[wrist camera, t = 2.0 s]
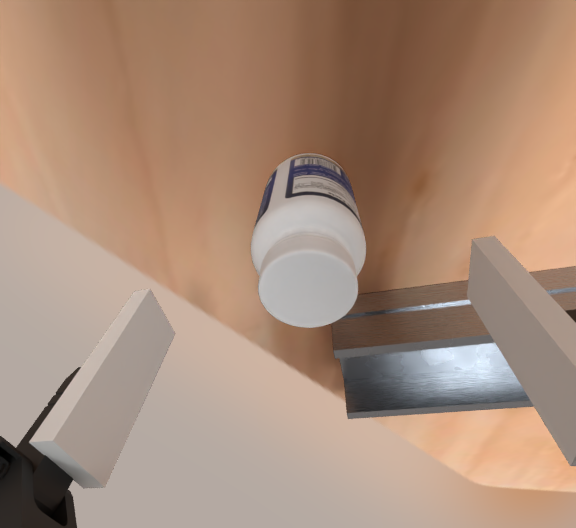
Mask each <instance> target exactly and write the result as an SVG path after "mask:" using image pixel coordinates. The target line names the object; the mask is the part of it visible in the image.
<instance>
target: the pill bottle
mask: <svg viewBox="0 0 576 528" xmlns="http://www.w3.org/2000/svg"><path fill="white" fill-rule="evenodd" d="M251 256H252V261H253V264H254V267H255V269H256V271H257V273H258V274H259V283H258V293H259V297H260V300H261V302H262V304H263V306H264V307H265V309H266V310H267V311H268V312H269V313H270V314H271V315H272V316H274V317H275V318H276V319H278V320H280V321H281V322H284V323H286V324H288V325H292V326H296V327H304V328H314V327H320V326H325V325H328V324H331V323H333V322H335V321H337V320H339V319H340V318H342V317H343V316H344V315H346V314H347V313H348V312H349V310H350V309H351V308H352V307H353V305H354V303H355V301H356V299H357V295H358V280H357V276H358V274H359V273H360V271H361V269H362V267H363V265H364V261H365V257H366V240H365V235H364V232H363V228H362V224H361V220H360V216H359V213H358V209H357V206H356V202H355V198H354V194H353V190H352V186H351V183H350V181H349V178H348V176H347V174H346V173H345V171H344V170H343V169H342V167H341V166H340V165H339V164H338V163H336V162H335V161H334V160H332V159H330V158H328V157H326V156H323V155H320V154H315V153H304V154H299V155H295V156H293V157H290V158H288V159H286V160H285V161H283V162H282V163H281V164H280V165H279V166H278V167H277V168H276V169H275V170H274V171H273V173H272V174H271V176H270V178H269V180H268V182H267V185H266V188H265V192H264V195H263V199H262V203H261V206H260V210H259V213H258V217H257V220H256V224H255V227H254V231H253V235H252V241H251Z"/></svg>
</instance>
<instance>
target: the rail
mask: <svg viewBox="0 0 576 528" xmlns="http://www.w3.org/2000/svg"><path fill="white" fill-rule="evenodd" d="M529 273H530V274H531V275H532V277H533V278H534V279H535V280H536V281H537V282H538V283H539V284H540V285H541V286H542V287H543V288H544V289H545V290H546V291H547V293H548V294H549V295H550V296H551V297H552V298H553V299H554V300H555V301H556V302H557V303H558V304H559V305H560V306H561V308H562V309H563V310H564V311H566V310H574V309H576V266H575V267H567V268H560V269H552V270H544V271H537V272H529ZM467 290H468V280H467V281H459V282H452V283H444V284H436V285H429V286H421V287H413V288H405V289H398V290H390V291H382V292H375V293H367V294H359V295H357V299H356V301H355V303H354V305H353V307H352V308H351V309H350V310H349V312H348V313H347V314H346V315H344V316H343V317H342V318H340V319H339V320H337V321H335V322H333V323H332V338H333V351H334V356H335V359H336V358H339V359H340V364H341V369H342V373H343V378H344V387H345V398H346V409H347V416H348V419H353V418H368V417H383V416H398V415H413V414H428V413H443V412H458V411H473V410H488V409H503V408H518V407H533V406H534V405H533V404H532V402H531V401H530V399H529V397H528V396H527V394H526V392H525V391H524V389H523V387H522V386H521V384H520V383H519V381H518V379H517V378H516V376H515V374H514V373H513V371H512V369H511V368H510V366H509V364H508V363H507V361H506V360H505V358H504V356H503V355H502V353H501V351H500V350H499V348H498V346H497V345H496V343H495V342H494V340H493V338H492V337H491V335H490V333H489V332H488V330H487V328H486V327H485V325H484V323H483V322H482V320H481V319H480V317H479V315H478V314H477V312H476V310H475V309H474V307H473V305H472V304H471V302H470V301H469V299H468V297H467Z"/></svg>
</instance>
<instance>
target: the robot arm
mask: <svg viewBox="0 0 576 528" xmlns="http://www.w3.org/2000/svg"><path fill="white" fill-rule="evenodd" d="M467 297H468V299H469V301H470V302H471V304H472V305H473V307H474V309H475V310H476V312H477V314H478V315H479V317H480V319H481V320H482V322H483V323H484V325H485V327H486V328H487V330H488V332H489V333H490V335H491V337H492V338H493V340H494V342H495V343H496V345H497V346H498V348H499V350H500V351H501V353H502V355H503V356H504V358H505V360H506V361H507V363H508V364H509V366H510V368H511V369H512V371H513V373H514V374H515V376H516V378H517V379H518V381H519V383H520V384H521V386H522V387H523V389H524V391H525V392H526V394H527V396H528V397H529V399H530V401H531V402H532V404H533V405H534V407H535V409H536V410H537V412H538V414H539V415H540V417H541V419H542V420H543V422H544V424H545V425H546V427H547V428H548V430H549V432H550V433H551V435H552V437H553V438H554V440H555V442H556V443H557V445H558V446H559V448H560V450H561V451H562V453H563V455H564V456H565V458H566V460H567V461H568V463H569V465H570V466H576V309H574V310H566V311H564V310H563V309H562V308H561V306H560V305H559V304H558V303H557V302H556V301H555V300H554V299H553V298H552V297H551V296H550V295H549V294H548V293H547V291H546V290H545V289H544V288H543V287H542V286H541V285H540V284H539V283H538V282H537V281H536V280H535V279H534V278H533V277H532V275H531V274H530V273H529V272H528V271H527V270H526V269H525V268H524V267H523V266H522V265H521V264H520V263H519V262H518V261H517V259H516V258H515V257H514V256H513V255H512V254H511V253H510V252H509V251H508V250H507V249H506V248H505V247H504V246H503V245H502V243H501V242H500V241H499V240H498V239H497V238H496V237H495V236H490V237H484V238H477V239H472V246H471V257H470V268H469V279H468V290H467ZM174 335H175V332H174V330H173V328H172V326H171V325H170V323H169V321H168V320H167V318H166V316H165V314H164V312H163V311H162V309H161V307H160V305H159V303H158V302H157V300H156V298H155V297H154V295H153V293H152V291H151V289H144V290H138V291H134V292H133V294H132V295H131V297H130V298H129V299H128V301H127V302H126V304H125V305H124V307H123V308H122V310H121V311H120V312H119V314H118V316H117V317H116V318H115V320H114V321H113V323H112V324H111V325H110V327H109V328H108V330H107V331H106V332H105V334H104V335H103V337H102V338H101V340H100V341H99V342H98V344H97V345H96V347H95V348H94V350H93V351H92V353H91V354H90V355H89V357H88V358H87V360H86V361H85V363H84V364H83V366H82V367H79V368H77V369H76V370H75V371H74V372H73V373H72V374H71V375H70V376H69V377H68V378H66V379H65V381H64V382H63V384H62V385H61V386H60V388H59V389H58V391H57V392H56V395H54V396H53V397H52V399H51V400H50V402H49V403H48V406H47V407H45V408H44V410H43V411H42V413H41V414H40V415H39V417H38V418H37V420H36V421H35V423H34V424H33V426H32V427H31V428H30V429H29V431H28V432H27V434H26V435H25V436H24V438H23V439H22V440H21V442H20V443H19V445H18V446H17V447H16V448H15V447H14V446H13V445H11V444H10V443H9V442H8V441H6V440H5V439H4V438H3V437H1V436H0V528H77V525H76V517H75V509H74V502H73V496H72V494H71V492H70V491H69V490H68V488H69V486H70V484H71V482H72V481H73V480H74V481H75V482H77V483H78V484H79V485H80V486H82V487H83V488H103V487H105V486H106V484H107V481H108V479H109V477H110V475H111V473H112V470H113V469H114V466H115V464H116V462H117V460H118V458H119V456H120V453H121V451H122V449H123V447H124V445H125V442H126V440H127V438H128V436H129V434H130V431H131V429H132V427H133V425H134V422H135V420H136V418H137V416H138V414H139V412H140V409H141V407H142V405H143V403H144V401H145V399H146V396H147V394H148V392H149V390H150V388H151V386H152V383H153V381H154V379H155V377H156V374H157V372H158V370H159V368H160V366H161V364H162V361H163V359H164V357H165V355H166V353H167V350H168V348H169V346H170V344H171V342H172V340H173V337H174Z"/></svg>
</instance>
